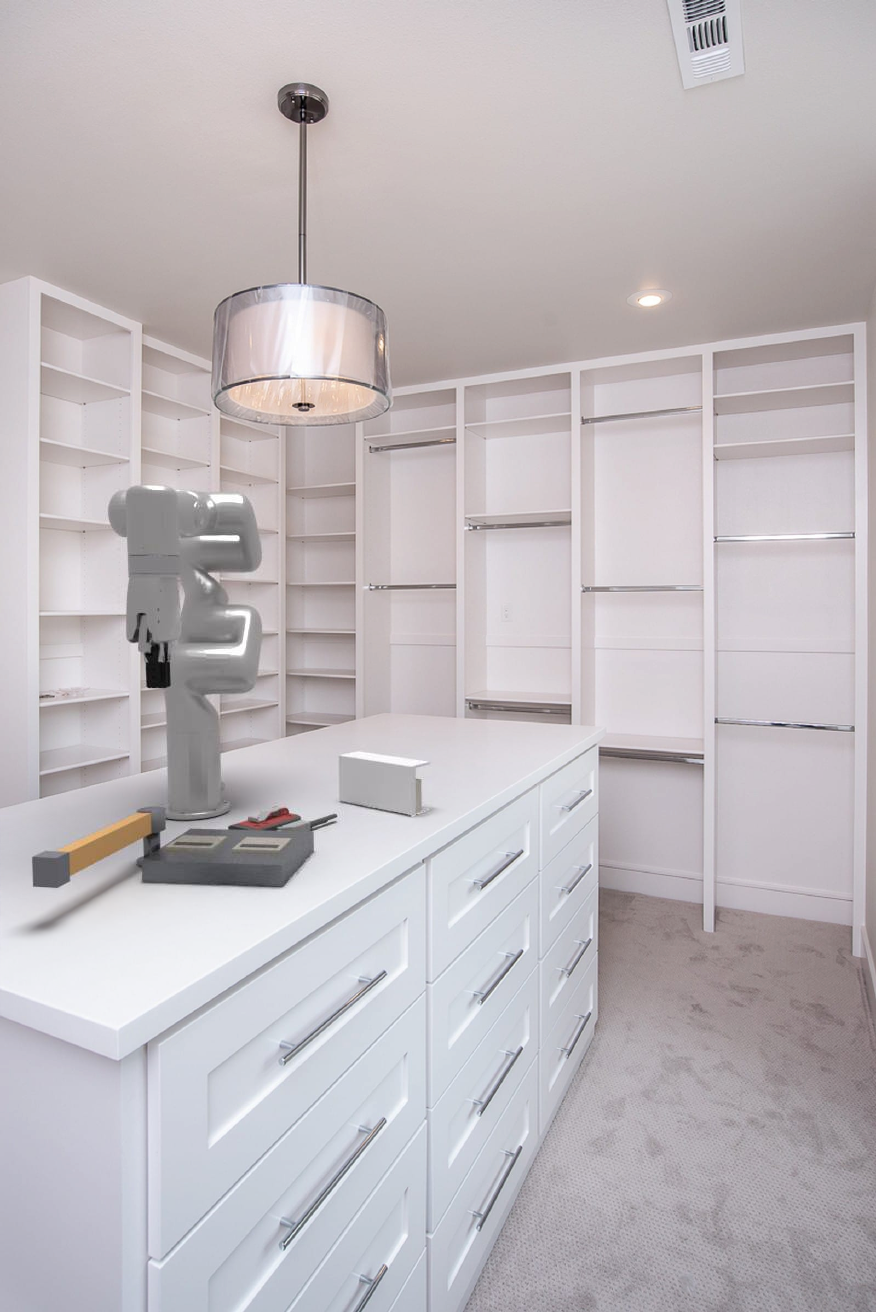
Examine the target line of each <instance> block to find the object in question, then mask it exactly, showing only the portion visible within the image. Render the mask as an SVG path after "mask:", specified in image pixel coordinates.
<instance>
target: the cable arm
mask: <svg viewBox="0 0 876 1312" xmlns="http://www.w3.org/2000/svg"><path fill="white" fill-rule="evenodd" d="M166 820H167V818H165V808H164V807H161V806H154V805H153V806H146V807H142V808H141V807H140V808H139V809H138V808H137V810H136V813H135V814H132V815H130V816H128V817H125V818H123V819H121V820H120V821H117V822H115V823H112V824H110V825H109V826H106V827H104V828H102V829H100V830H98V831H95V832H93V833H91V834H89V835H87V836H85V837H83V838H80V839H78V840H76V841H74V842H72V843H69V844H68V845H65V846H63V847H61V848H58V849H56V850H44V851H42V852H39V853H37V854H35V855H33V856H31V863H32V864H31V866H32V887H33V888H34V887H35V888H48V889H49V888H52V889H58V888H61V887H63V886H64V885H66V884H68V883H70V882H71V877H72V876H73V875H75V874H76V873H79V872H81V871H83V870H85V869H86V868H88V867H90V866H92V865H94V864H96V863H98V862H100V861H102V860H103V859H105V858H107V857H109V856H111V855H113V854H115V853H117V852H118V851H120V850H122V849H124V848H126V847H128V846H130V845H132V844H134V843H135V842H137V841H140V840H141V839H142V840H143V837H145V836H147V835H149V834H151V833H157V832H160V833H161V832H163V831H165V830H166V829H167V827H166V824H167V823H166Z"/></svg>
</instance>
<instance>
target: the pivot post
mask: <svg viewBox="0 0 876 1312" xmlns="http://www.w3.org/2000/svg"><path fill="white" fill-rule="evenodd" d="M142 846H143V847H142V848H143V849H142V850H143V852H142V853H143V855H142V856H140V857H138V858H137V859H136V860H135V861H136V866H137V867H138V868H142V860H143V859H145V858H146V857H148V856H149V855H151V854H152V853H154V852H155V851H157V850H158V849H160V848H161V832H157V833H151V834H149V835H147V836H145V837H143V838H142Z"/></svg>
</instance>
